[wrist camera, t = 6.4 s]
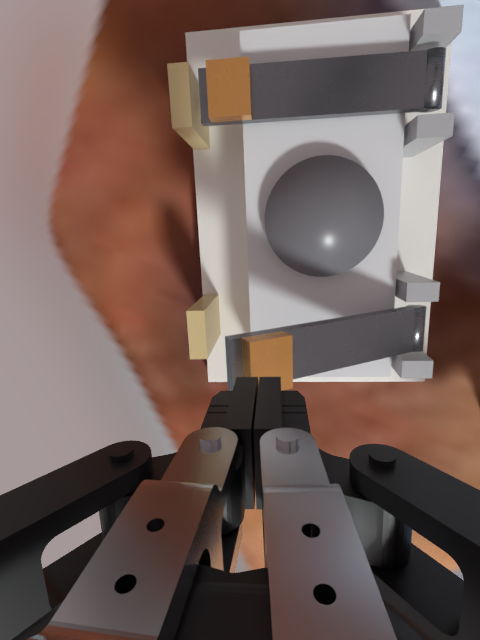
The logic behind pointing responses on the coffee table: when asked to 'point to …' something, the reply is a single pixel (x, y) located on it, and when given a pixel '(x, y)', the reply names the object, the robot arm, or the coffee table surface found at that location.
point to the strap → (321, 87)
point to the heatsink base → (315, 194)
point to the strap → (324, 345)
